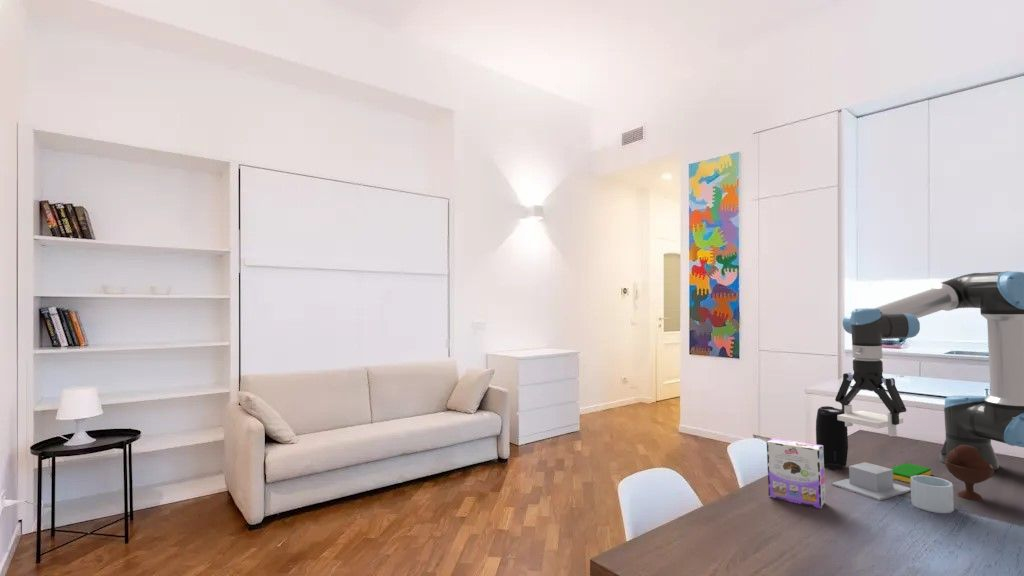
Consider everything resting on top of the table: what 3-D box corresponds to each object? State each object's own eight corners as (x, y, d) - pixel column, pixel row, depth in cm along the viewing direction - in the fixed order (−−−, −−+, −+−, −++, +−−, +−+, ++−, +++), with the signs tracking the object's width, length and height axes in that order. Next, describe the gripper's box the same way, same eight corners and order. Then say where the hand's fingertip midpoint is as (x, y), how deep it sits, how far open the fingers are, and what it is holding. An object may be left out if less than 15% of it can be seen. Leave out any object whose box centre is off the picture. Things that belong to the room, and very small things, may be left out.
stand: (864, 476, 168) (863, 457, 168) (912, 490, 155) (911, 470, 155) (831, 484, 161) (831, 465, 161) (879, 500, 149) (878, 479, 149)
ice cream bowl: (1005, 505, 144) (1003, 450, 144) (959, 502, 146) (957, 449, 146) (979, 490, 154) (977, 439, 154) (936, 488, 156) (934, 438, 157)
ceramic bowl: (922, 498, 150) (922, 473, 150) (960, 509, 142) (959, 483, 142) (904, 503, 146) (903, 478, 146) (941, 515, 138) (940, 489, 138)
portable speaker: (820, 460, 185) (818, 404, 185) (851, 465, 178) (849, 408, 179) (813, 466, 178) (812, 408, 179) (845, 472, 172) (844, 412, 172)
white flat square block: (861, 415, 167) (861, 410, 167) (903, 423, 156) (902, 418, 156) (837, 420, 162) (837, 415, 162) (878, 428, 151) (878, 423, 151)
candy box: (826, 503, 148) (824, 444, 148) (821, 509, 143) (819, 449, 144) (773, 491, 157) (772, 436, 157) (767, 497, 153) (765, 440, 153)
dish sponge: (931, 475, 168) (931, 468, 168) (911, 484, 161) (910, 476, 161) (906, 469, 175) (905, 462, 175) (885, 477, 168) (885, 470, 168)
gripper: (821, 356, 168) (823, 423, 168) (903, 364, 146) (906, 442, 146) (836, 354, 171) (838, 420, 171) (919, 362, 149) (922, 438, 149)
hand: (869, 430), depth 159 cm, fingers closed on white flat square block, 12 cm apart
